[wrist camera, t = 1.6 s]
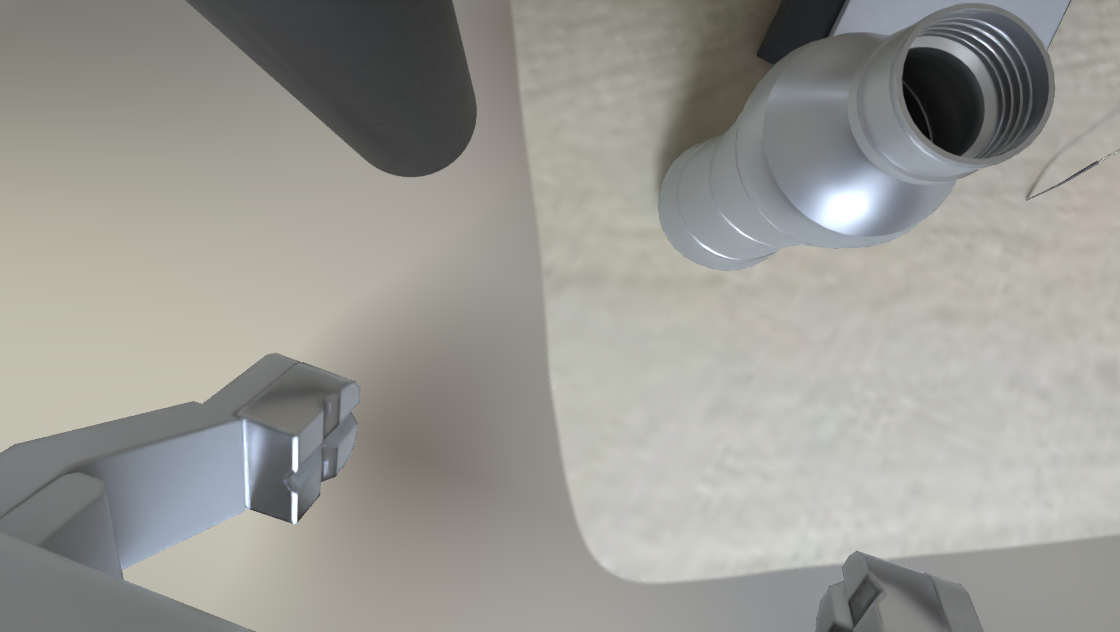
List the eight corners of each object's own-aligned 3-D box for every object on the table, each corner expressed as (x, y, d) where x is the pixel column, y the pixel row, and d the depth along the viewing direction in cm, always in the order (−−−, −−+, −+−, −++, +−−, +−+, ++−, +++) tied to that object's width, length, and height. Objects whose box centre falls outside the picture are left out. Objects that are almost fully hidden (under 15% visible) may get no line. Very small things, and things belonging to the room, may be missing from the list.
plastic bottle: (743, 293, 34) (1052, 281, 14) (628, 241, 34) (780, 155, 14) (791, 182, 34) (1168, 16, 14) (677, 129, 34) (900, -119, 14)
